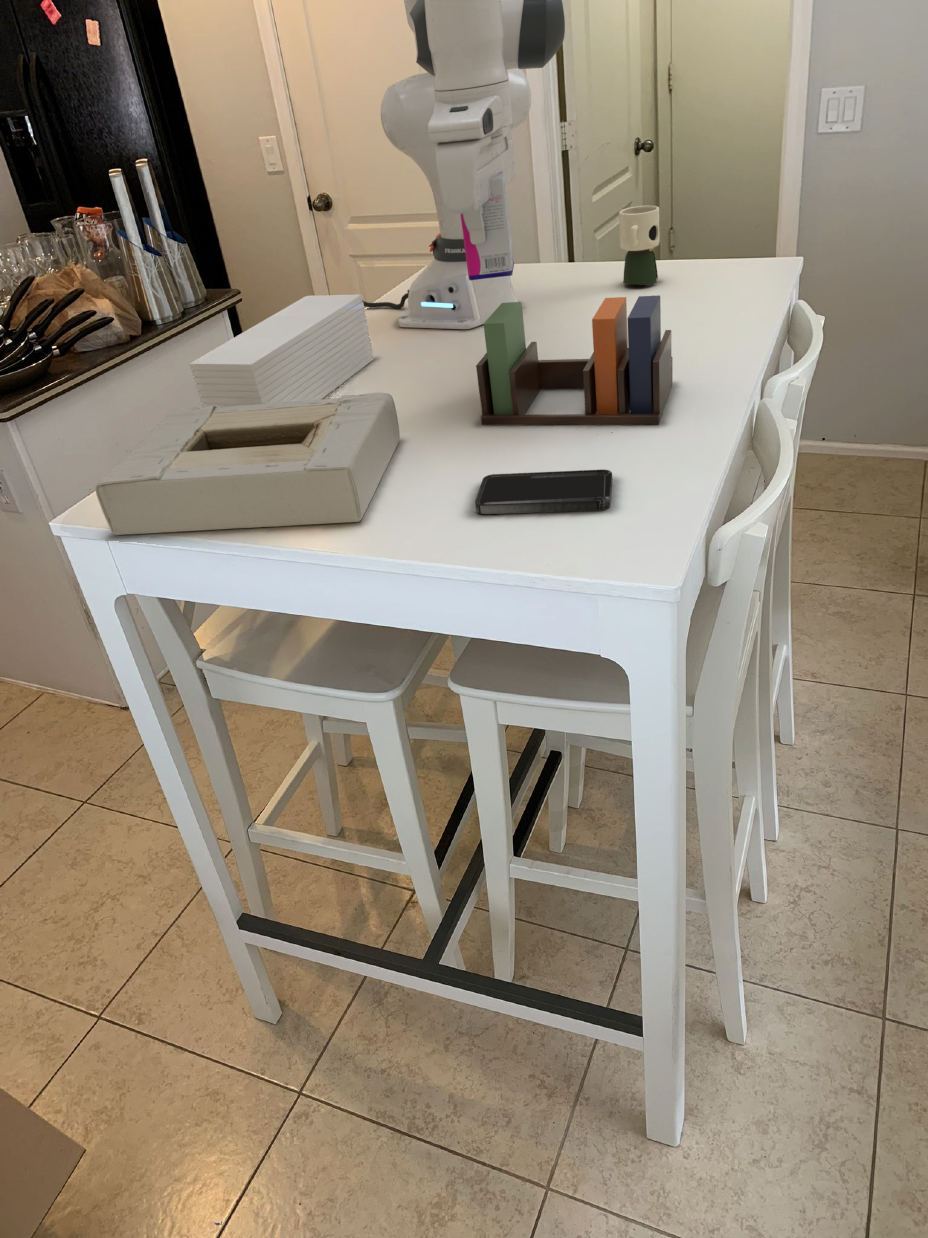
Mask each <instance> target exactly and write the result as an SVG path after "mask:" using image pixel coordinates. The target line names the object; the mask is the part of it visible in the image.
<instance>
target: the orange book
mask: <svg viewBox="0 0 928 1238" xmlns="http://www.w3.org/2000/svg"><path fill="white" fill-rule="evenodd" d="M627 307H628V306H627V296H617V297H605V298H604V300H603V301H602V302H601V304H600V305H599V307H598V309H597V311H596V312H595V314H594V315H593V317H592V319H591V327H592V345H593V352H594V367H595V386H596V405H597V412H596V414H619V399H618V372H617V370H618V368H619V366H620V364H621V362H622V360H623V358H624V356H625V353H626V351H627V349H628V311H627V310H628V309H627Z"/></svg>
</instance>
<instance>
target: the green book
mask: <svg viewBox="0 0 928 1238" xmlns="http://www.w3.org/2000/svg"><path fill="white" fill-rule="evenodd" d="M482 325H483V331H484V332H483V333H484V342H485V349H486V350H485V351H486V353H487V358H488V367H489V375H490V383H491V392H492V400H493V409H494V415H513V406H512V397H511V388H510V378H509V372H510V370H511V369H512V367H513V366H514V365H515V363H516V362H517V361H518V359H519V358H520V357H521V355H522V354H523V352H524V351H525V350H526V348H527V345H526V343H527V342H526V333H525V323H524V311H523V303H522V301H518V302H507V303H501V305H500V306H499V307H498V308H497V309H496V310H495V311H494V312H493V314H492V315H491V316H490V317H489V318H488V319H487V320H486V321H485V322H484V324H482Z"/></svg>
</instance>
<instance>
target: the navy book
mask: <svg viewBox="0 0 928 1238" xmlns="http://www.w3.org/2000/svg"><path fill="white" fill-rule="evenodd" d="M661 310H662V309H661V295H660V294H659V295H640V296H638V297H637V299H636V301H635V303H634V305H633V307H632V309H631V311H630V312H629V315H627V337H628V351H629V384H630V412H629V414H654V412H653V360H654V357H655V355H656V353H657V350H658V348H659V345H660V343H661V340H662V332H661V331H662V329H661V328H662V326H661V325H662V324H661V322H662V319H661V317H662V316H661V315H662V313H661V312H662V311H661Z"/></svg>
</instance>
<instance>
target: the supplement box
mask: <svg viewBox="0 0 928 1238" xmlns="http://www.w3.org/2000/svg"><path fill="white" fill-rule="evenodd" d="M490 182H491V191H492V194H491V198H490V199H489V200H488V201H487V202H486V203H484V204H483V205H482V207H483V214H482V218H483V223H484V226H486V230H487V240H486V241H485V242H484V243H483V244H472V243H471V241H470V233H469V229H468V226H467V224H466V222H465V219H464V215H463V214H460V215H461V223H462V230H463V238H464V246H465V253H466V261H467V269H468V277H469V280H478V279H486V278H494V277H503V276H510V277H511V276H513V274H514V268H515V260H514V252H513V241H512V232H511V222H510V221H511V220H510V212H509V203H508V192H507V185H506V182H505V174H504V172H501V173H500V174H498V175H497V176H495V177H494V178H492V179H491V181H490Z"/></svg>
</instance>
